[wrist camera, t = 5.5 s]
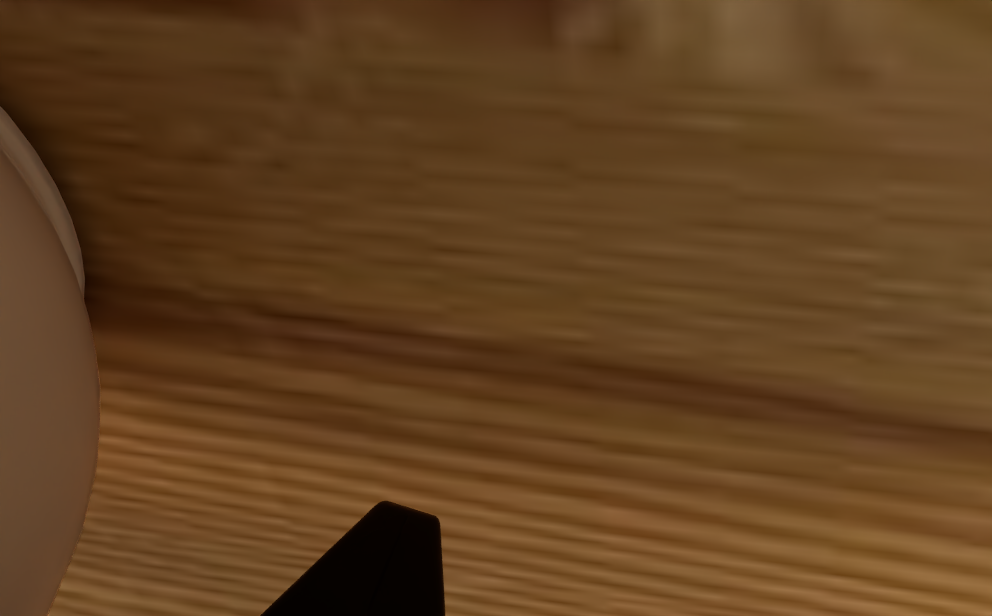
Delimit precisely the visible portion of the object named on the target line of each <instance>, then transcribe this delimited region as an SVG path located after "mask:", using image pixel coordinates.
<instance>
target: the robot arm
mask: <svg viewBox="0 0 992 616" xmlns="http://www.w3.org/2000/svg"><path fill="white" fill-rule="evenodd" d="M260 616H445V600H444V582H443V565H442V547H441V529H440V522H439V519H438V518H437V517H436V516H434V515H431V514H428V513H425V512H422V511H418V510H415V509H412V508H409V507H406V506H402V505H399V504H396V503H393V502H390V501H382V502H380V503H378V504H377V505H375V506H374V507H373V508H372V509H371V510H370V511H369V512H368V513H367V514H366V515H365V516H364V517H363V518H362V519H361V520H360V521H359V522H358V523H356V524H355V525H354V526H353V527H352V528H351V529H350V530H349V531H348V532H347V533H346V534H345V535H344V536H343V537H342V538H341V539H340V540H339V541H338V542H337V543H336V544H334V545H333V546H332V547H331V548H330V549H329V550H328V551H327V552H326V553H325V554H324V555H323V556H322V557H321V558H320V559H319V560H318V561H317V562H316V563H315V564H314V565H313V566H311V567H310V568H309V569H308V570H307V571H306V572H305V573H304V574H303V575H302V576H301V577H300V578H299V579H298V580H297V581H296V582H295V583H294V584H293V585H292V586H291V587H289V588H288V589H287V590H286V591H285V592H284V593H283V594H282V595H281V596H280V597H279V598H278V599H277V600H276V601H275V602H274V603H273V604H272V605H271V606H270V607H269V608H267V609H266V610H265V611H264V612H263V613H262V614H261V615H260Z"/></svg>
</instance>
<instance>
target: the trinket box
mask: <svg viewBox="0 0 992 616" xmlns="http://www.w3.org/2000/svg"><path fill="white" fill-rule="evenodd" d="M84 287H85V276H84V269H83V261H82V253H81V249H80V245H79V242H78V239H77V235H76V232H75V229H74V225H73V222H72V219H71V217H70V214H69V212H68V210H67V208H66V206H65V203H64V201H63V199H62V197H61V194H60V192H59V190H58V188H57V186H56V184H55V182H54V181H53V179H52V177H51V176H50V174H49V172H48V171H47V169H46V167H45V166H44V164H43V162H42V161H41V159H40V157H39V156H38V154H37V153H36V151H35V149H34V148H33V147H32V145H31V144H30V143H29V142H28V140H27V139H26V138H25V136H24V135H23V134H22V132H21V131H20V130H19V128H18V127H17V126H16V124H15V123H14V122H13V120H12V119H11V118H10V117H9V115H8V114H7V113H6V112H5V111H4V110H3V109H2V108H1V107H0V616H48V614H49V612H50V609H51V607H52V605H53V602H54V600H55V597H56V595H57V593H58V590H59V588H60V585H61V583H62V581H63V578H64V576H65V573H66V571H67V569H68V566H69V564H70V562H71V559H72V556H73V554H74V551H75V549H76V546H77V543H78V541H79V538H80V536H81V533H82V531H83V527H84V522H85V518H86V514H87V509H88V505H89V501H90V496H91V492H92V488H93V483H94V479H95V475H96V468H97V457H98V445H99V434H100V396H101V388H100V380H99V373H98V365H97V357H96V349H95V344H94V339H93V334H92V329H91V325H90V320H89V315H88V312H87V309H86V306H85V303H84Z"/></svg>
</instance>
